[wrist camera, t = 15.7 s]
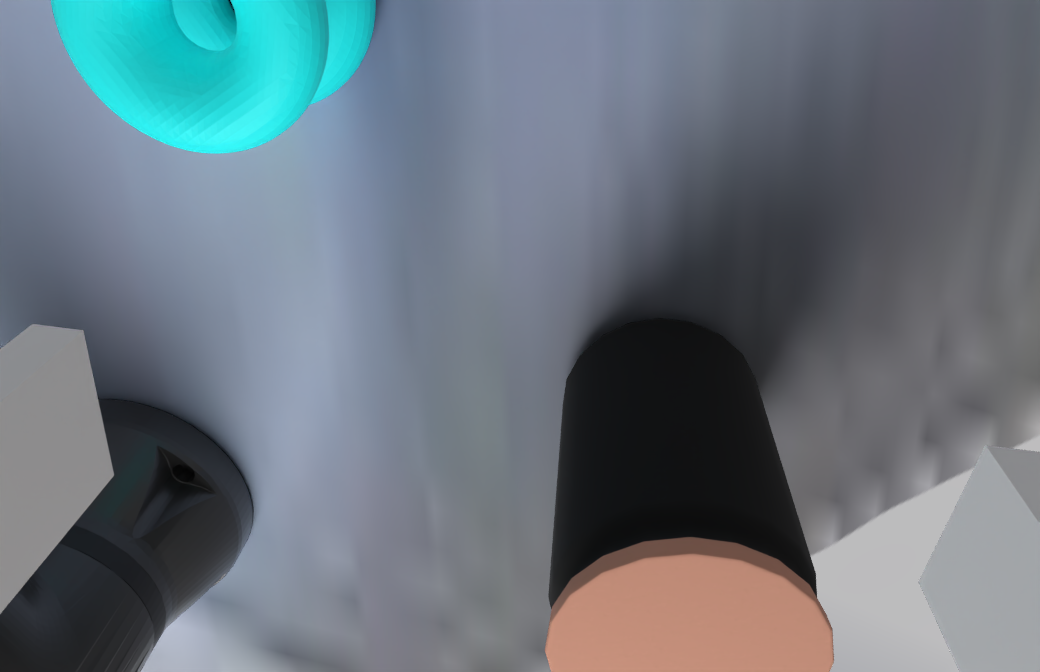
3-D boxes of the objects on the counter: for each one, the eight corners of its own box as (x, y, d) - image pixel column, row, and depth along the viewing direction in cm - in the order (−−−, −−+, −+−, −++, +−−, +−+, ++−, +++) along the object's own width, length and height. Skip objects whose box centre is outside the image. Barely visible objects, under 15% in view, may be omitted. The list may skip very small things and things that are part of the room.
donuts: (171, 208, 31) (-30, -30, 27) (264, 138, 40) (122, -50, 36) (371, 75, 28) (175, -218, 24) (425, 29, 36) (287, -190, 33)
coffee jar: (528, 408, 46) (491, 672, 31) (638, 272, 42) (659, 505, 26) (674, 492, 49) (708, 779, 33) (794, 373, 44) (901, 643, 28)
